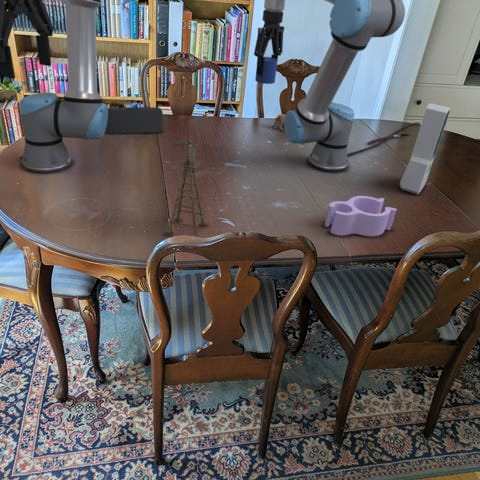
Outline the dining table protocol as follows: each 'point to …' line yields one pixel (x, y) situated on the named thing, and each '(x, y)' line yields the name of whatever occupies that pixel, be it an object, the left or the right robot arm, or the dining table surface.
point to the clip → (359, 216)
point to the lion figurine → (279, 121)
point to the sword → (385, 138)
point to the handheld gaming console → (134, 120)
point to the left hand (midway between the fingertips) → (28, 71)
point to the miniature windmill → (187, 165)
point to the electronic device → (425, 148)
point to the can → (268, 71)
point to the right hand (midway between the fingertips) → (266, 73)
